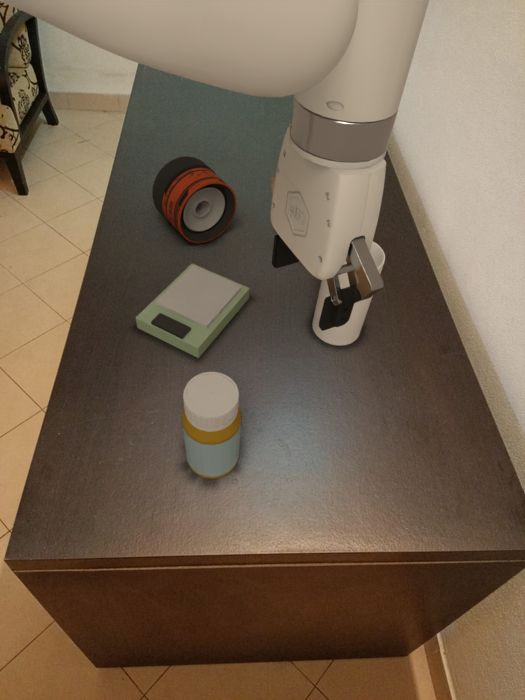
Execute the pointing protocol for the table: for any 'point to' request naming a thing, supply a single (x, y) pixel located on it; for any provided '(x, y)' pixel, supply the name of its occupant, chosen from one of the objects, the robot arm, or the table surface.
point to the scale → (193, 309)
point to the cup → (359, 311)
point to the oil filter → (193, 199)
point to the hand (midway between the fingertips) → (308, 292)
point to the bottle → (211, 424)
